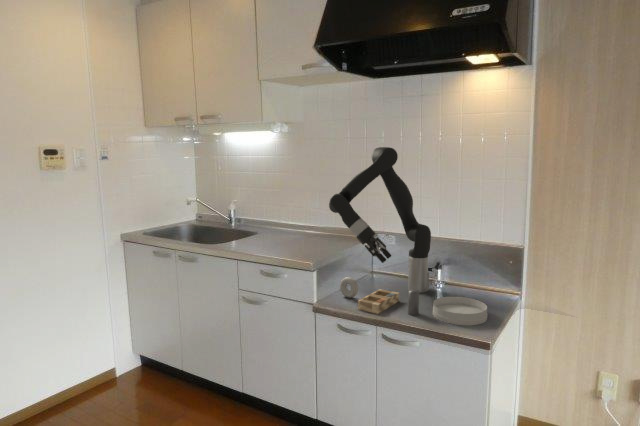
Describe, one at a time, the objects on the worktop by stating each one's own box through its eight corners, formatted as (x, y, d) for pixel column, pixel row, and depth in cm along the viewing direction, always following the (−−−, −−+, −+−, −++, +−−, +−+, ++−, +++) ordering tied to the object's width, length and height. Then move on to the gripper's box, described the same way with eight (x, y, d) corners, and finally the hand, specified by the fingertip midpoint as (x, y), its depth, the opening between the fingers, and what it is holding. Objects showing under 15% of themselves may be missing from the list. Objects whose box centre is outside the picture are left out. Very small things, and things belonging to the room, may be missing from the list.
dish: (446, 303, 212) (446, 293, 211) (495, 314, 198) (495, 303, 198) (423, 317, 195) (423, 306, 194) (475, 330, 181) (475, 318, 181)
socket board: (379, 297, 221) (379, 288, 220) (398, 301, 215) (399, 292, 214) (357, 309, 205) (357, 299, 204) (378, 313, 199) (378, 304, 198)
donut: (359, 298, 219) (359, 278, 217) (355, 300, 216) (355, 279, 215) (342, 294, 225) (342, 274, 224) (338, 296, 222) (338, 276, 221)
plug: (414, 311, 202) (415, 289, 200) (420, 314, 198) (421, 291, 196) (406, 312, 200) (406, 290, 199) (411, 316, 196) (412, 293, 195)
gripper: (363, 228, 195) (389, 257, 192) (372, 223, 208) (397, 250, 205) (350, 239, 198) (376, 268, 195) (361, 234, 211) (385, 261, 208)
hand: (387, 259), depth 200 cm, fingers open, 8 cm apart
